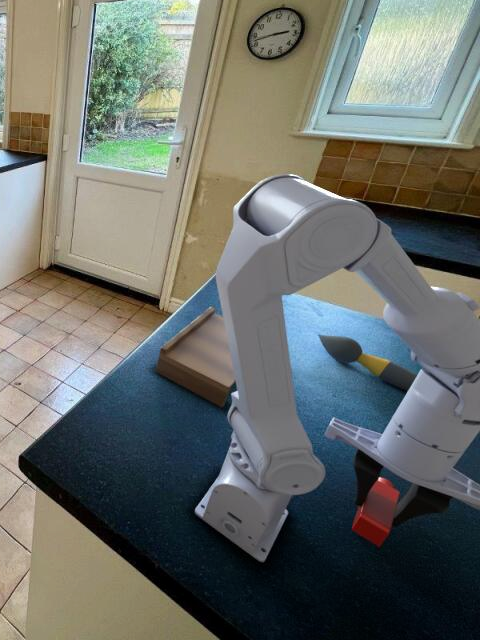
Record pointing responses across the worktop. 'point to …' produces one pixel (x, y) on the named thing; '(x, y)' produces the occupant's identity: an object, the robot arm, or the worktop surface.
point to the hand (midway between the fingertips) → (376, 510)
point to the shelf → (200, 358)
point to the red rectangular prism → (377, 512)
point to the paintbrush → (367, 361)
